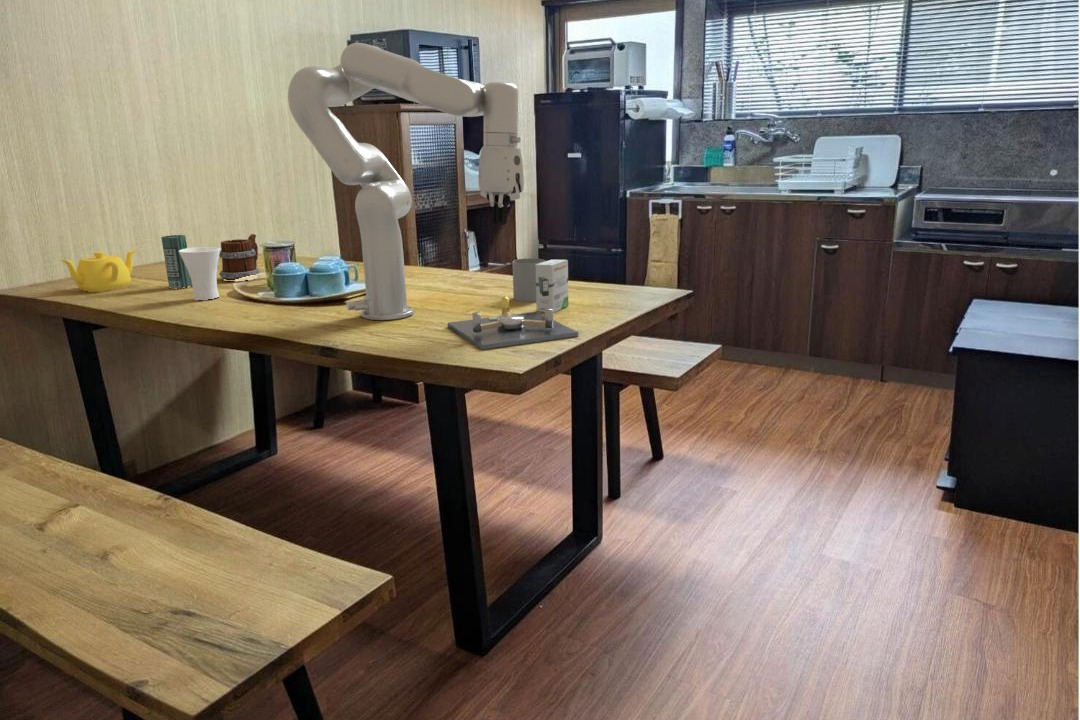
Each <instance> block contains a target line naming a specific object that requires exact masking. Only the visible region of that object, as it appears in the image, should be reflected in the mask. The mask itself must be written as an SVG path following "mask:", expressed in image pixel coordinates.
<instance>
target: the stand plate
mask: <svg viewBox="0 0 1080 720" xmlns="http://www.w3.org/2000/svg"><path fill="white" fill-rule="evenodd" d="M519 314H520V315H523V316H524V319H526V320H541V321H545V315H543V314H541V313H539V312H538V311H532V312H524V313H523V312H522V313H519ZM498 316H499V315H498ZM498 316H487V317H483V318H482V317H481V324H485V323H490V322H495V321H497V317H498ZM447 328H448V329H450V330H452V331H453V332H454V333H456V334H457V335H459V336H460V337H462V338H463V339H465V340H466V341H468V342H470V343H471V342H472V343H471V344H472V345H474V344H475V345H474V346H476V347H477V346H478V347H477V348H479V349H480V348H481V350H482V349H486V350H489V349H488V348H493V349H496V348H495V347H500V348H502V347H501V346H507V347H511V346H510V345H514V346H519V345H518V344H521V345H526V344H528V345H529V344H534V343H541V342H549V341H554V340H555V341H556V340H562V339H569V338H570V339H571V338H576V337H579V331H577V330H575V329H573V328H571V327H569V326H566V325H564V324H562V323H561V322H558V321H557V320H554V319H553V328H545V327H539V326H525V325H524V327H522V328H518V329H501V328H498V327H497V328H492V329H488V330H483V331H482V332H479V333H475V332H473V319H469V320H468V319H467V320H459V321H451V322H447Z"/></svg>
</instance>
